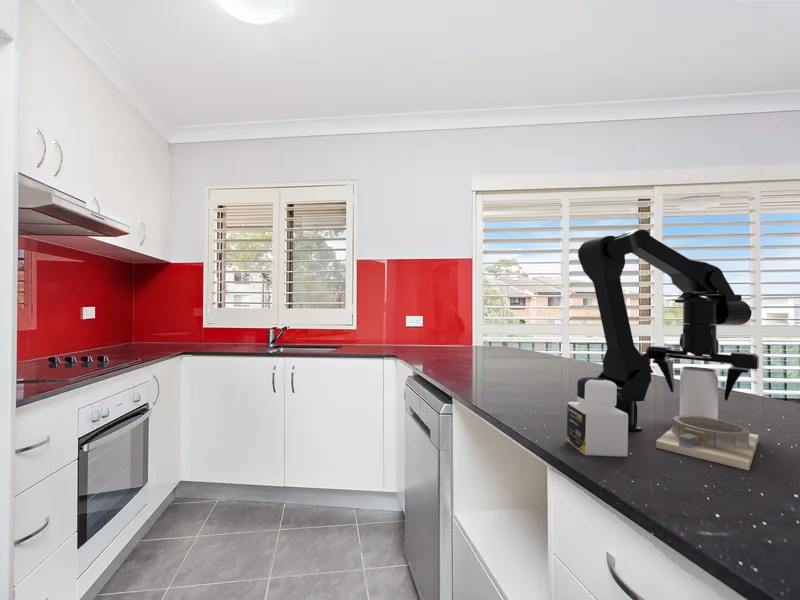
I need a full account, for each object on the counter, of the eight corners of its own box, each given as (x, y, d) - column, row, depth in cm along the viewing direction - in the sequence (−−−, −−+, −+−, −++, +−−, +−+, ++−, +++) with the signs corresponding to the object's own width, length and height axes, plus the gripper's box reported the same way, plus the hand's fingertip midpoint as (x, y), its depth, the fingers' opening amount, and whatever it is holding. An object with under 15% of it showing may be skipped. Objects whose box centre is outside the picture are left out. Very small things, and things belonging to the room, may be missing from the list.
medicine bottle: (566, 440, 69) (567, 374, 69) (605, 442, 68) (607, 375, 69) (584, 455, 61) (585, 382, 62) (628, 457, 61) (629, 383, 61)
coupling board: (749, 470, 57) (749, 446, 58) (656, 447, 66) (656, 426, 66) (758, 441, 71) (758, 421, 71) (680, 425, 80) (680, 408, 80)
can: (703, 420, 84) (704, 367, 85) (725, 429, 78) (726, 371, 78) (672, 418, 85) (673, 365, 85) (692, 427, 79) (693, 370, 79)
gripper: (761, 326, 81) (760, 399, 80) (658, 322, 94) (657, 384, 94) (757, 327, 73) (756, 407, 73) (645, 322, 87) (644, 390, 86)
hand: (698, 396), depth 82 cm, fingers open, 9 cm apart
